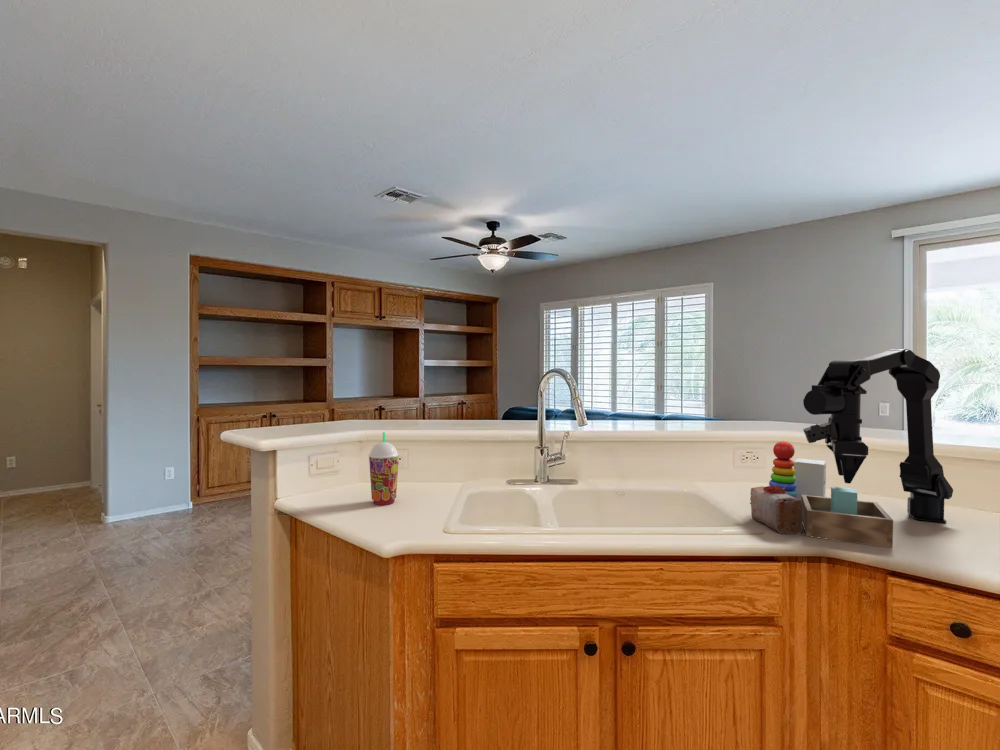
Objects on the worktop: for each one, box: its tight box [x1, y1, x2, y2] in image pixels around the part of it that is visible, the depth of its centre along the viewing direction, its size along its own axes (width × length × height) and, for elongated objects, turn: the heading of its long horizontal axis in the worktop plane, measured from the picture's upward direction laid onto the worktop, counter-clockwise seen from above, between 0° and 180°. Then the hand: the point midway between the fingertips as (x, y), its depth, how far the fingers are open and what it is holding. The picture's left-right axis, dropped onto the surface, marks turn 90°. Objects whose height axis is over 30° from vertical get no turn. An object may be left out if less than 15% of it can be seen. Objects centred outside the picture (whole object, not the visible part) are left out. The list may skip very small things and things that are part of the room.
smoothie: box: [368, 431, 400, 506], centre depth 146 cm, size 8×8×20 cm
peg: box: [830, 486, 858, 515], centre depth 122 cm, size 5×5×10 cm
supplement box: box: [793, 458, 827, 500], centre depth 144 cm, size 7×7×13 cm
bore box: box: [801, 495, 894, 549], centre depth 122 cm, size 16×16×6 cm
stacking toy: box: [768, 440, 798, 499], centre depth 140 cm, size 8×8×19 cm
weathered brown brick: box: [749, 485, 803, 534], centre depth 127 cm, size 14×8×10 cm, turn 3°
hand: (844, 479), depth 122 cm, fingers open, 9 cm apart
